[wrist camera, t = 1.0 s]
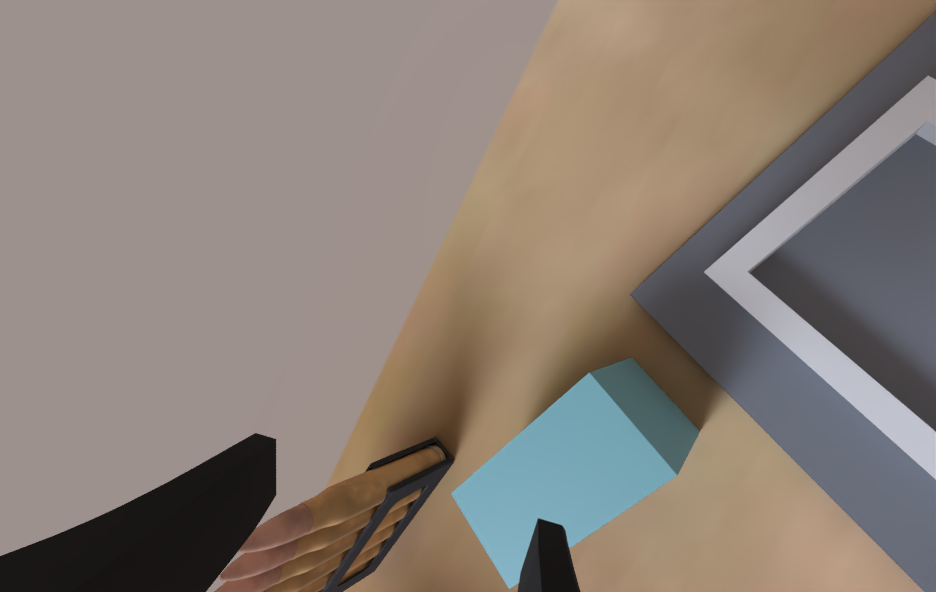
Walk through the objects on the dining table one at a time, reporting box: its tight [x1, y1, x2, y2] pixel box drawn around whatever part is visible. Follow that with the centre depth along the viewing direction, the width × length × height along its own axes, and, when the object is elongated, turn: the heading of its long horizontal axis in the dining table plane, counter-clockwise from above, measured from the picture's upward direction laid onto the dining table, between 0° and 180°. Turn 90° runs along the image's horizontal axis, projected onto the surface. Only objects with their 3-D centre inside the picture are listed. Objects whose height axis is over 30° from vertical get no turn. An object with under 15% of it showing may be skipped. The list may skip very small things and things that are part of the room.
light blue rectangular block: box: [451, 357, 700, 589], centre depth 18 cm, size 4×8×6 cm, turn 134°
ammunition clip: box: [215, 437, 454, 592], centre depth 22 cm, size 11×2×12 cm, turn 144°
